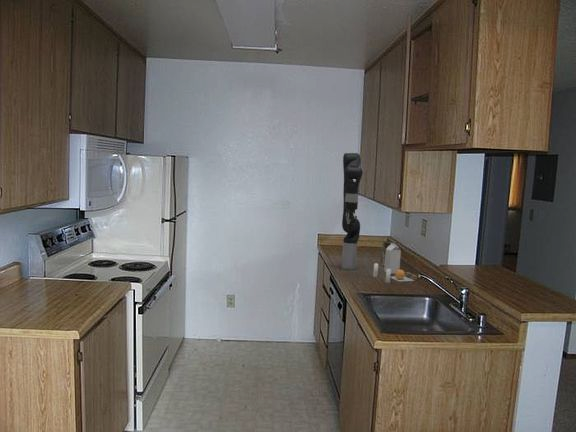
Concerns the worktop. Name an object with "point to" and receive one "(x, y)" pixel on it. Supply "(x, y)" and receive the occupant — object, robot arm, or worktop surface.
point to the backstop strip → (411, 276)
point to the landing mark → (402, 279)
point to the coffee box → (384, 251)
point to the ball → (399, 274)
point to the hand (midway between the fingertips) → (349, 230)
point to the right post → (388, 275)
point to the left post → (375, 270)
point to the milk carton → (392, 258)
